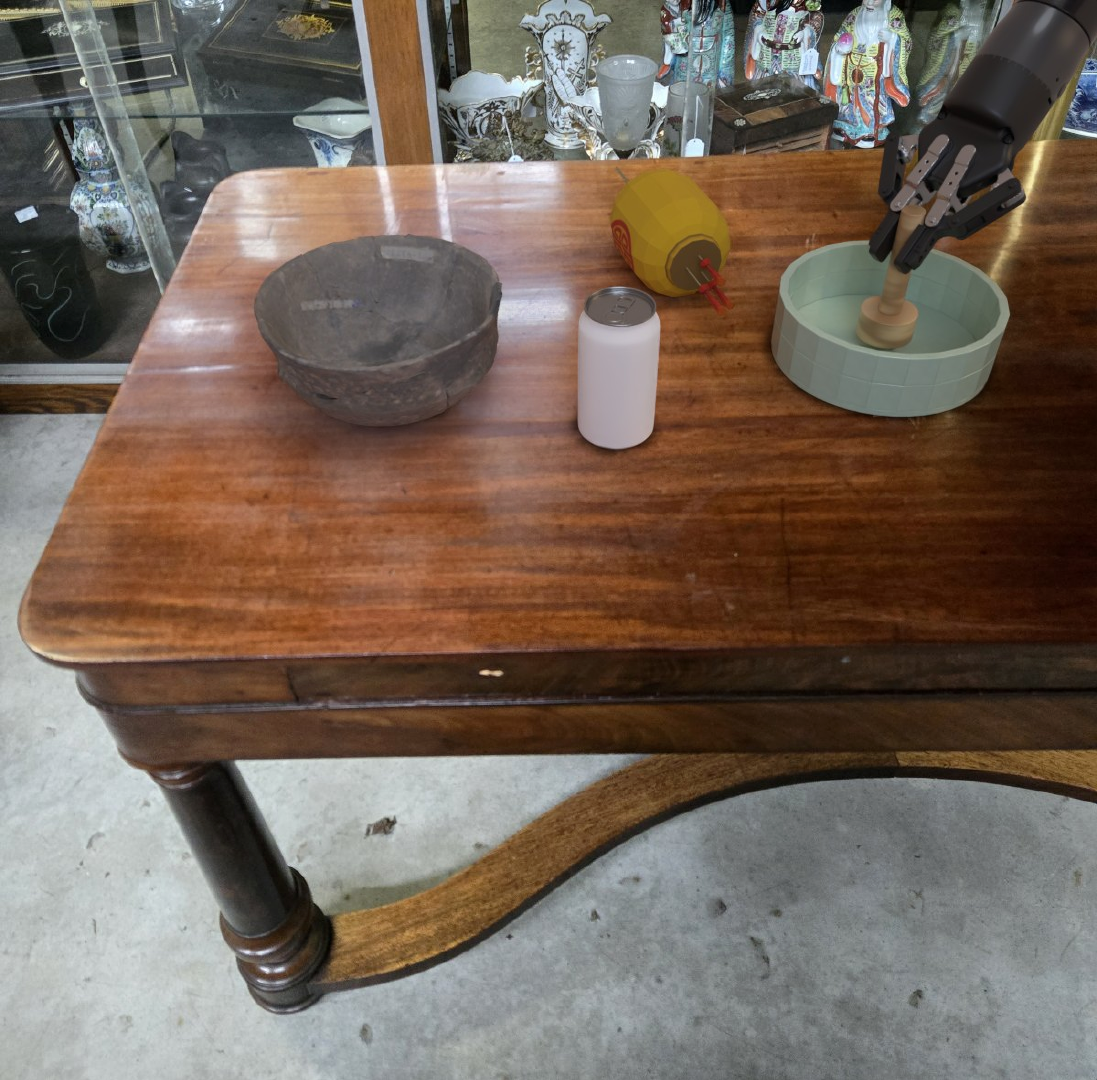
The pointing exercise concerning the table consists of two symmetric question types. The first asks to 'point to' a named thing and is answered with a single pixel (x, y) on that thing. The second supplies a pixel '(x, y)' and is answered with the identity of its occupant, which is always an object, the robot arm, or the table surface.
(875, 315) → the wooden stamp
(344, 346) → the bowl
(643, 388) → the can
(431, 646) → the table surface
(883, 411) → the mixing bowl
